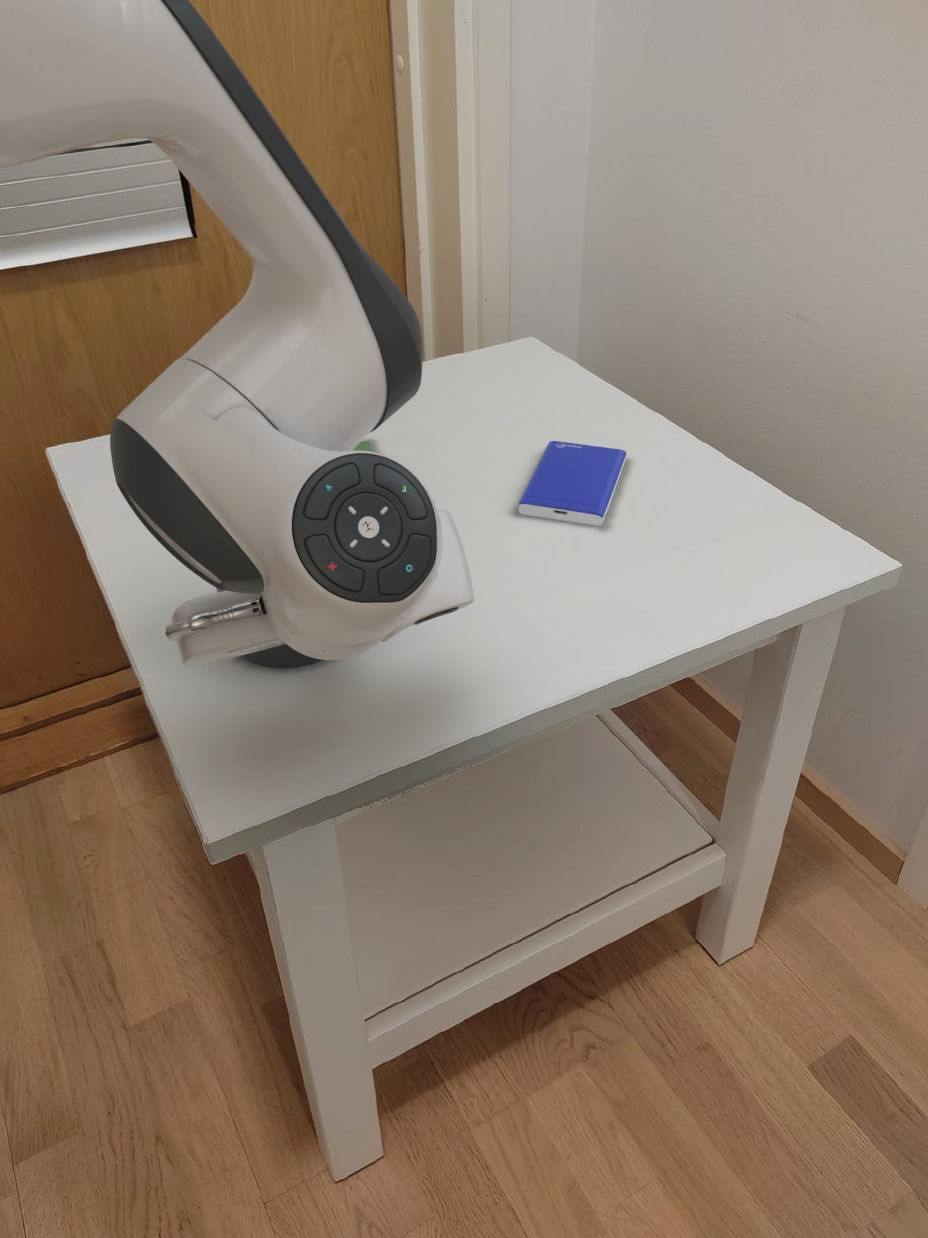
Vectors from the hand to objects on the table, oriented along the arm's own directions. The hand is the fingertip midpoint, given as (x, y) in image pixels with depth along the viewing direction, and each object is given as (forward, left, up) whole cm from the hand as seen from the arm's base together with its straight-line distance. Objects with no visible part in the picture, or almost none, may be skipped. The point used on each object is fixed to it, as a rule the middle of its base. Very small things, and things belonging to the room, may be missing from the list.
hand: (315, 618), depth 72 cm
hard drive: (+14, +31, -5) cm, 35 cm away
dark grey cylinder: (-6, +7, -5) cm, 10 cm away
